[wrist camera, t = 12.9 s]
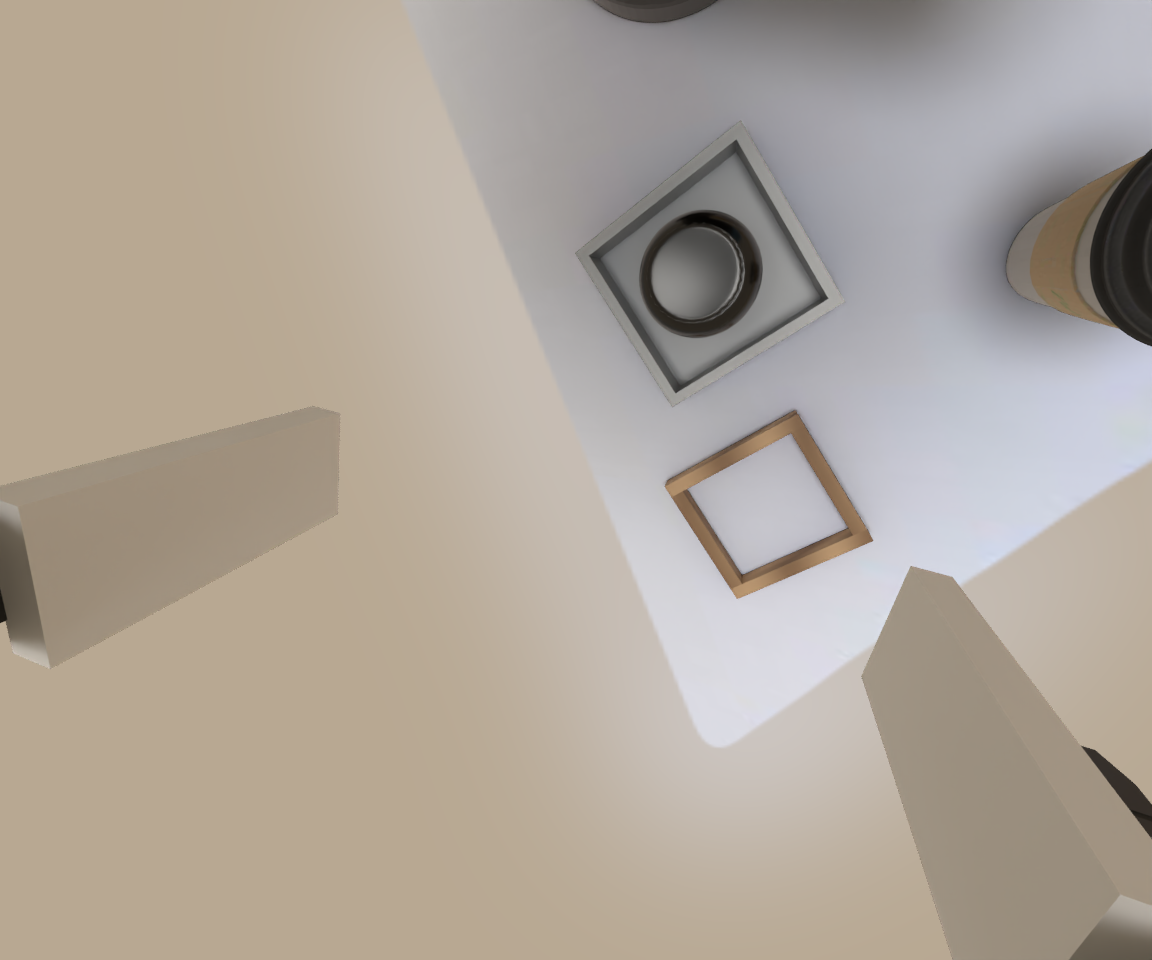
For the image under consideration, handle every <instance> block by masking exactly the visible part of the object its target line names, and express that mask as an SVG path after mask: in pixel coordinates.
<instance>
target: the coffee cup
mask: <svg viewBox="0 0 1152 960" xmlns="http://www.w3.org/2000/svg"><path fill="white" fill-rule="evenodd" d="M1006 274H1007V278H1008V281H1009V283H1010V285H1011V286H1012V288H1013V289H1014V290H1015V291H1016V292H1017V293H1018V294H1019V295H1021V296H1023V297H1024V298H1026V299H1028V300H1031V301H1033V302H1036V303H1039V304H1043V305H1047V306H1050V307H1053V308H1055V309H1057V310H1058V311H1061V312H1063V313H1066V314H1069V315H1072V316H1075V317H1079V318H1083V319H1086V320H1090V321H1093V322H1097V323H1101V324H1104V325H1108V326H1112V327H1115V328H1119V329H1121V330H1122V331H1123V332H1125V333H1126V334H1127V335H1129V336H1131V337H1132V338H1134V339H1136V340H1138V341H1140V342H1142V343H1144V344H1147V345H1149V346H1152V149H1151V150H1150V151H1149V152H1148V153H1147V154H1146V155H1144V156H1142V157H1140V158H1138V159H1136V160H1134V161H1132V162H1130V163H1128V164H1126V165H1124V166H1123V167H1121V168H1119V169H1117V170H1115V171H1113V172H1111V173H1109V174H1107V175H1105V176H1103V177H1101V178H1099V179H1097V180H1095V181H1093V182H1091V183H1089V184H1087V185H1086V186H1084V187H1082V188H1081V189H1079V190H1078V191H1076V192H1075V193H1073V194H1072V195H1071V196H1069V197H1068V198H1066V199H1064V200H1062V201H1060V202H1058V203H1056V204H1054V205H1052V206H1050V207H1048V208H1046V209H1045V210H1043V211H1042V212H1040V213H1038V214H1037V215H1035V216H1034V217H1033V218H1032V219H1031V220H1030V221H1029V222H1028V223H1027V224H1026V225H1025V226H1024V227H1023V228H1022V230H1021V231H1020V232H1019V233H1018V235H1017V237H1016V238H1015V240H1014V242H1013V244H1012V246H1011V248H1010V251H1009V253H1008V258H1007V262H1006Z"/></svg>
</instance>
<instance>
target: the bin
mask: <svg viewBox="0 0 1152 960" xmlns="http://www.w3.org/2000/svg"><path fill="white" fill-rule="evenodd" d="M696 210H715V211H720V212H723V213H726V214H729V215H731V216H732V217H734V218H736V219H737V220H739V221H740V222H741V223H742V224H744V225H745V226H746V227H747V228H748V230H749V231H750V232H751V233H752V235H753V236H754V238H755V240H756V242H757V244H758V246H759V249H760V253H761V257H762V265H763V273H762V281H761V286H760V289H759V292H758V295H757V297H756V299H755V301H754V303H753V305H752V306H751V308H750V309H749V311H748V312H747V313H746V315H745V316H744V317H743V318H742V319H741V320H740V321H739V322H738V323H736V324H735V325H734V326H732V327H731V328H729V329H728V330H726V331H724V332H722V333H719V334H717V335H713V336H710V337H704V338H688V337H683V336H679V335H676V334H674V333H671V332H670V331H668V330H666V329H665V328H663V327H662V326H660V325H659V324H658V323H657V322H656V321H655V320H654V319H653V317H652V316H651V315H650V313H649V312H648V310H647V308H646V306H645V304H644V302H643V299H642V296H641V292H640V285H639V273H640V266H641V261H642V258H643V255H644V253H645V250H646V248H647V246H648V244H649V243H650V241H651V239H652V238H653V237H654V235H655V234H656V233H657V232H658V231H659V230H660V229H661V228H662V227H663V226H664V225H665V224H667V223H668V222H669V221H671V220H672V219H674V218H676V217H678V216H680V215H682V214H684V213H687V212H691V211H696ZM575 254H576V255H577V257H578V259H579V260H580V262H581V263H582V265H583V267H584V268H585V270H586V271H587V273H588V274H589V276H590V278H591V279H592V281H593V282H594V284H595V286H596V287H597V289H598V290H599V292H600V294H601V295H602V297H603V298H604V300H605V301H606V303H607V305H608V306H609V308H610V309H611V311H612V313H613V314H614V316H615V317H616V319H617V320H618V322H619V324H620V325H621V327H622V328H623V330H624V332H625V333H626V335H627V336H628V338H629V339H630V341H631V343H632V344H633V346H634V347H635V349H636V351H637V352H638V354H639V355H640V357H641V359H642V360H643V362H644V363H645V365H646V366H647V368H648V370H649V371H650V373H651V374H652V376H653V378H654V379H655V381H656V382H657V384H658V385H659V387H660V389H661V390H662V392H663V393H664V395H665V397H666V398H667V400H668V401H669V403H670V404H671V406H672V407H674V406H675V405H677V404H678V403H680V402H682V401H683V400H685V399H687V398H688V397H690V396H692V395H693V394H695V393H696V392H698V391H700V390H701V389H703V388H705V387H706V386H708V385H710V384H711V383H713V382H715V381H716V380H718V379H719V378H721V377H723V376H724V375H726V374H728V373H729V372H731V371H733V370H734V369H736V368H737V367H739V366H741V365H742V364H744V363H746V362H747V361H749V360H751V359H752V358H754V357H756V356H757V355H759V354H760V353H762V352H764V351H765V350H767V349H769V348H770V347H772V346H774V345H775V344H777V343H778V342H780V341H782V340H783V339H785V338H787V337H788V336H790V335H792V334H793V333H795V332H797V331H798V330H800V329H801V328H803V327H805V326H806V325H808V324H810V323H811V322H813V321H815V320H816V319H818V318H819V317H821V316H823V315H824V314H826V313H828V312H829V311H831V310H833V309H834V308H836V307H838V306H839V305H841V304H842V303H844V302H845V301H844V299H843V297H842V295H841V294H840V292H839V290H838V289H837V287H836V285H835V283H834V282H833V280H832V278H831V276H830V275H829V273H828V271H827V269H826V268H825V266H824V264H823V262H822V261H821V259H820V257H819V255H818V254H817V252H816V250H815V248H814V247H813V245H812V243H811V241H810V240H809V238H808V236H807V234H806V233H805V231H804V229H803V228H802V226H801V224H800V222H799V221H798V219H797V217H796V215H795V214H794V212H793V210H792V208H791V207H790V205H789V203H788V201H787V200H786V198H785V196H784V194H783V193H782V191H781V189H780V187H779V186H778V184H777V182H776V180H775V179H774V177H773V175H772V173H771V172H770V170H769V168H768V166H767V165H766V163H765V161H764V160H763V158H762V156H761V154H760V153H759V151H758V149H757V147H756V146H755V144H754V142H753V140H752V139H751V137H750V135H749V133H748V132H747V130H746V128H745V126H744V125H743V123H742V121H739V122H738V123H737V124H736V125H734V126H733V127H732V128H731V129H729V130H728V131H727V132H726V133H724V134H723V135H722V136H721V137H719V138H718V139H717V140H716V141H714V142H713V143H712V144H711V145H709V146H708V147H707V148H706V149H704V150H703V151H702V152H701V153H699V154H698V155H697V156H696V157H694V158H693V159H692V160H691V161H689V162H688V163H687V164H686V165H684V166H683V167H682V168H681V169H679V170H678V171H677V172H676V173H674V174H673V175H672V176H671V177H669V178H668V179H667V180H666V181H664V182H663V183H662V184H661V185H659V186H658V187H657V188H656V189H654V190H653V191H652V192H651V193H650V194H648V195H647V196H646V197H645V198H643V199H642V200H641V201H640V202H638V203H637V204H636V205H635V206H633V207H632V208H631V209H630V210H628V211H627V212H626V213H625V214H623V215H622V216H621V217H620V218H618V219H617V220H616V221H615V222H613V223H612V224H611V225H610V226H608V227H607V228H606V229H605V230H603V231H602V232H601V233H600V234H598V235H597V236H596V237H595V238H593V239H592V240H591V241H590V242H588V243H587V244H586V245H585V246H583V247H582V248H581V249H580V250H578V251H577V252H576V253H575Z"/></svg>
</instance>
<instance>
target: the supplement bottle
mask: <svg viewBox="0 0 1152 960" xmlns="http://www.w3.org/2000/svg"><path fill="white" fill-rule="evenodd" d="M762 273H763V265H762V257H761V253H760V249H759V246H758V244H757V242H756V240H755V238H754V236H753V235H752V233H751V232H750V231H749V230H748V228H747V227H746V226H745V225H744V224H742V223H741V222H740V221H739V220H737V219H736V218H734V217H732V216H731V215H729V214H726V213H723V212H720V211H715V210H696V211H691V212H687V213H684V214H682V215H680V216H678V217H676V218H674V219H672V220H671V221H669V222H668V223H667V224H665V225H664V226H663V227H662V228H661V229H660V230H659V231H658V232H657V233H656V234H655V235H654V237H653V238H652V239H651V241H650V243H649V244H648V246H647V248H646V250H645V253H644V255H643V258H642V261H641V266H640V273H639V285H640V292H641V296H642V299H643V302H644V304H645V306H646V308H647V310H648V312H649V313H650V315H651V316H652V317H653V319H654V320H655V321H656V322H657V323H658V324H659V325H660V326H662V327H663V328H665V329H666V330H668V331H670V332H671V333H674V334H676V335H679V336H683V337H688V338H704V337H710V336H713V335H717V334H719V333H722V332H724V331H726V330H728V329H729V328H731V327H732V326H734V325H735V324H736V323H738V322H739V321H740V320H741V319H742V318H743V317H744V316H745V315H746V313H747V312H748V311H749V309H750V308H751V306H752V305H753V303H754V301H755V299H756V297H757V295H758V292H759V289H760V286H761V281H762Z"/></svg>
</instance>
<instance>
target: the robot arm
mask: <svg viewBox="0 0 1152 960" xmlns="http://www.w3.org/2000/svg"><path fill="white" fill-rule="evenodd" d="M593 1H594V2H596V3H597V4H598V5H600V6H601V7H603V8H604V9H606V10H607V11H609V12H611V13H613V14H615V15H618V16H620V17H623V18H626V19H630V20H635V21H641V22H663V21H669V20H674V19H678V18H682V17H685V16H688V15H690V14H693V13H695V12H697V11H700V10H702V9H703V8H705V7H707V6H709V5H711V4H712V3H714V2H715V1H717V0H593ZM339 437H340V413H337V412H334V411H330V410H326V409H322V408H319V407H315V406H312V407H309V408H304V409H300V410H296V411H292V412H288V413H285V414H281V415H277V416H273V417H269V418H265V419H261V420H257V421H254V422H249V423H246V424H242V425H237V426H234V427H230V428H226V429H222V430H218V431H214V432H210V433H206V434H202V435H198V436H194V437H191V438H186V439H182V440H179V441H175V442H171V443H167V444H163V445H159V446H155V447H151V448H147V449H143V450H140V451H136V452H131V453H128V454H124V455H120V456H116V457H112V458H108V459H104V460H101V461H96V462H92V463H88V464H84V465H80V466H76V467H72V468H69V469H65V470H61V471H57V472H53V473H49V474H45V475H41V476H37V477H33V478H29V479H25V480H21V481H17V482H14V483H10V484H6V485H2V486H0V623H1V622H4V621H6V625H7V629H8V633H9V638H10V642H11V647H12V650H13V653H14V654H16V655H18V656H21V657H23V658H25V659H28V660H30V661H33V662H35V663H37V664H40V665H42V666H44V667H47V668H49V669H51V668H53V667H55V666H57V665H59V664H61V663H63V662H64V661H66V660H68V659H70V658H72V657H74V656H76V655H77V654H79V653H81V652H83V651H84V650H87V649H89V648H90V647H92V646H94V645H96V644H98V643H100V642H102V641H103V640H105V639H107V638H109V637H111V636H113V635H115V634H116V633H118V632H120V631H122V630H124V629H125V628H128V627H129V626H131V625H133V624H135V623H137V622H139V621H140V620H142V619H144V618H146V617H148V616H150V615H152V614H153V613H155V612H157V611H159V610H161V609H163V608H165V607H166V606H168V605H170V604H172V603H174V602H176V601H178V600H179V599H181V598H183V597H185V596H187V595H189V594H190V593H193V592H194V591H196V590H198V589H200V588H202V587H204V586H205V585H207V584H209V583H211V582H213V581H215V580H216V579H218V578H220V577H222V576H224V575H226V574H228V573H230V572H231V571H233V570H235V569H237V568H239V567H241V566H243V565H244V564H246V563H248V562H250V561H252V560H254V559H256V558H257V557H259V556H261V555H263V554H265V553H267V552H269V551H270V550H272V549H274V548H276V547H277V546H280V545H282V544H283V543H285V542H287V541H289V540H291V539H293V538H294V537H296V536H298V535H300V534H302V533H304V532H305V531H307V530H309V529H311V528H313V527H315V526H317V525H319V524H320V523H322V522H324V521H326V520H328V519H330V518H332V517H334V516H335V515H337V514H338V481H339V440H340V438H339ZM862 679H863V683H864V686H865V689H866V692H867V695H868V698H869V701H870V704H871V708H872V711H873V714H874V716H875V720H876V723H877V726H878V729H879V732H880V736H881V739H882V742H883V745H884V748H885V751H886V754H887V757H888V760H889V764H890V767H891V770H892V773H893V776H894V779H895V782H896V785H897V788H898V791H899V794H900V798H901V801H902V804H903V807H904V810H905V813H906V816H907V819H908V822H909V825H910V829H911V832H912V835H913V838H914V841H915V844H916V847H917V851H918V853H919V857H920V860H921V863H922V866H923V869H924V872H925V875H926V879H927V882H928V885H929V888H930V891H931V894H932V897H933V900H934V903H935V906H936V909H937V913H938V916H939V919H940V922H941V925H942V928H943V931H944V934H945V938H946V941H947V944H948V947H949V950H950V953H951V956H952V959H953V960H1152V804H1151V803H1150V802H1149V801H1148V799H1147V798H1146V797H1145V796H1144V794H1143V793H1142V792H1141V791H1140V790H1139V788H1138V787H1137V786H1136V785H1135V784H1134V783H1133V782H1131V780H1129V779H1128V778H1127V777H1126V776H1125V775H1124V774H1122V773H1121V772H1120V771H1119V770H1118V769H1116V768H1115V767H1114V766H1113V765H1112V764H1111V763H1110V762H1108V761H1107V760H1106V759H1105V758H1104V757H1102V756H1101V755H1100V754H1099V753H1098V752H1097V751H1095V750H1093V749H1090V748H1086V747H1083V746H1081V745H1080V744H1079V743H1078V742H1077V740H1076V739H1075V738H1074V736H1073V735H1072V734H1071V732H1070V731H1069V730H1068V729H1067V727H1066V726H1065V725H1064V723H1063V722H1062V721H1061V719H1060V718H1059V717H1058V715H1057V714H1056V713H1055V711H1054V710H1053V709H1052V707H1051V706H1050V705H1049V704H1048V702H1047V701H1046V700H1045V698H1044V697H1043V696H1042V694H1041V693H1040V692H1039V690H1038V689H1037V688H1036V686H1035V685H1034V684H1033V683H1032V681H1031V680H1030V679H1029V677H1028V676H1027V675H1026V673H1025V672H1024V671H1023V669H1022V668H1021V667H1020V666H1019V664H1018V663H1017V661H1016V660H1015V659H1014V657H1013V656H1012V655H1011V654H1010V652H1009V651H1008V650H1007V648H1006V647H1005V646H1004V644H1003V643H1002V642H1001V640H1000V639H999V638H998V636H997V635H996V634H995V633H994V631H993V630H992V629H991V627H990V626H989V625H988V623H987V622H986V621H985V619H984V618H983V617H982V615H981V614H980V613H979V612H978V610H977V609H976V608H975V606H974V605H973V604H972V602H971V601H970V600H969V598H968V597H967V596H966V594H965V593H964V592H963V590H962V589H961V588H960V587H959V585H958V584H957V583H956V581H955V580H954V579H953V577H950V576H946V575H942V574H939V573H935V572H931V571H928V570H924V569H920V568H916V567H913V566H911V567H910V569H909V571H908V573H907V576H906V578H905V580H904V582H903V584H902V587H901V589H900V591H899V593H898V596H897V598H896V600H895V602H894V605H893V607H892V609H891V611H890V613H889V616H888V618H887V620H886V622H885V625H884V627H883V629H882V631H881V634H880V636H879V638H878V640H877V642H876V645H875V647H874V649H873V652H872V654H871V656H870V658H869V660H868V663H867V665H866V667H865V669H864V671H863V674H862Z"/></svg>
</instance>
